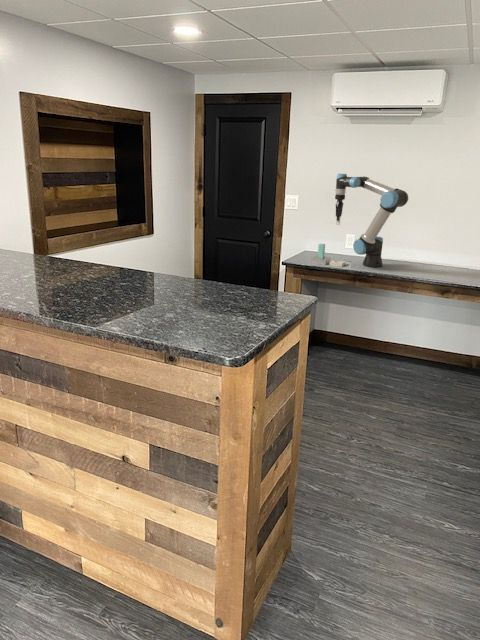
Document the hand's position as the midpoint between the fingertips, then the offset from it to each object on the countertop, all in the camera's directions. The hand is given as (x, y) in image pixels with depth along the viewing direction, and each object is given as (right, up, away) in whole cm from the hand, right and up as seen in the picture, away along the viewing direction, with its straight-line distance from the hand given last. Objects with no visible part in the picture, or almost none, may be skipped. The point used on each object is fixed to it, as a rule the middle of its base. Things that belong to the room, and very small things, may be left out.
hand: (337, 224), depth 400 cm
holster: (-1, -32, -3) cm, 32 cm away
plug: (-13, -30, +3) cm, 33 cm away
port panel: (-13, -30, +3) cm, 33 cm away
